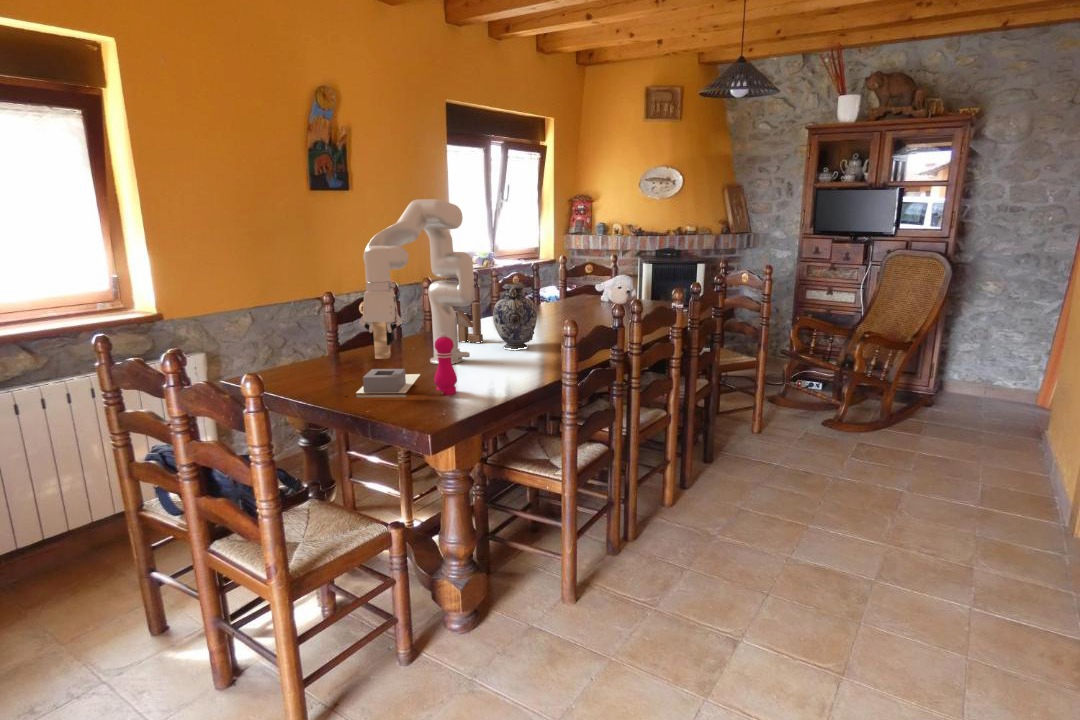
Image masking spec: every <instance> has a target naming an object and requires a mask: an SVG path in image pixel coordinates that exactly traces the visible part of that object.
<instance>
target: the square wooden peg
mask: <svg viewBox="0 0 1080 720" xmlns="http://www.w3.org/2000/svg"><path fill="white" fill-rule="evenodd" d="M387 331H388V330H387V326H386V322H373V333H374V345H373V346H374V359H378V360H381V359H382V360H385V359H386V360H388V359H389V358H390V357H391V355H392V352H391V344H390V345H387Z"/></svg>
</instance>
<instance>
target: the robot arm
mask: <svg viewBox="0 0 1080 720" xmlns="http://www.w3.org/2000/svg"><path fill="white" fill-rule="evenodd" d="M463 218H464V217H463V213H462V210H461V208H460V206H458V205H456V204H454V203H451V202H449V201H446V200H444V199H439V198H437V199H436V198H432V199H431V198H429V199H428V198H427V199H425V198H424V199H423V198H422V199H421V198H420V199H414V200H412V201H410V203H408V205H407V206H406V208H405V209H404V210H403V213H402V214H401V215H400V217H399V218H398V219H397V222H395V223H394V224H392V225H390V226H388V227H386V228H384V229H383V230H381V231H379V232H378V233H376V234H375V235H374V236H372V238H371V239H370V240H369V242H368V243H367V245H366V247H365V248H364V251H363V262H364V271H365V286H366V287H365V288H366V291H364V296H363V303H362V304H363V306H362V307H363V308H362V309H363V310H362V313H363V314H362V316H361V317H360V319H359V320H358V324H359V325H361V326H362V327H364V328H365V329H366V330H367V331H368V332H369V333H370V342H371V343H372V346H374V333H373V322H386V326H387V330H388V331H387V345H390V346H391V344H392V343H393V341H394V337H393V331H394V330H395V329H397V327H398V326H401V324H403V322H404V320H403V319H402V318H401V317H400V315H399V313H398V306H397V305H398V304H397V299H396V294H395V291H394V290H392V289H394V288H396V283H393V282H392V280H391V270H401V269H403V268H405V267H406V265H407V264H408V263H409V253H408V251H407V250H406V249H405V248H404V247H403V246H406V245H408V244H410V243H413V242H416V240H418V238H419V237H420V235H421V234H422V232H423V231H424V232H425V233H426V236H427V237H428V239H429V250H430V252H429V253H430V267H431V272H432V274H433V275H434V276H435V277H438V278H456V279H458V280H435V281H434V282H432V283H430V285H429V286H428V290H427V294H428V299H429V300H428V301H429V302H430V303H429V304H430V308H431V309H430V311H431V323H432V345H433V357H431V358H430V359H429V361H430V363H431V364H432V365H433V364H434V365H438V357H437V352H438V351H437V350H436V349H435V341H436V340H437V339H438V338H440V337H441V333H442V332H445V333H446V335H447V336H446V337H448V338H450V339H452V341H453V344H454V347H453V349H452V350H451V352H452V355H453V356H452V357H451V363H452V365H456V364H459V362H460V363H462V362H463V358H470V355H471V354H470V351H469V352H468V351H461V349H460V348H459V340H458V315H457V312H456V311H455V310H454V308H453V307H469V306H470V305H472V303H474V302H473V301H474V297H475V296H474V295H475V289H474V288H475V287H474V286H475V285H474V281H475V279H474V264H473V260H472V257H471V256H470V254H469V253H467V252H465V251H464V252H463V251H454V245H453V244H454V243H453V238H452V237H453V236H452V235H451V234H450V232H449V230H456V229H459V228H460V227H461V225H462V223H463ZM395 321H396V322H395ZM394 322H395V323H394ZM461 361H462V362H461ZM455 363H456V364H455Z"/></svg>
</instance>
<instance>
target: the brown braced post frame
mask: <svg viewBox="0 0 1080 720" xmlns="http://www.w3.org/2000/svg"><path fill="white" fill-rule="evenodd" d="M471 306H472V309H471V310H472V321H471V319H470V318H469V317H468V316H467V315H466V314H465V313H464V312H463V310H461V309H460V310H457V312H456V316H457V334H458V342H459V341H467V340H468V341H470V342H481V341H483V342H484V337H483V336H484V335H483V334H482V320H481V319H482V318H481V316H482V315H481V314H482V313H481V302H472V303H471ZM469 328H472V333H469Z"/></svg>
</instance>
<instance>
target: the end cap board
mask: <svg viewBox="0 0 1080 720" xmlns="http://www.w3.org/2000/svg"><path fill="white" fill-rule="evenodd" d="M420 376H421V373H413V374H412V373H409V374H407V373H406V369H405V368H372V369H370V370H369V371H368V372H367V373H365V375H364V376H363V377H362V384H363V385H362V386H361V387H360V388H359V389H358V390H357V391H356V392H355V398H356V399H358V398H361V399H362V398H363V399H364V398H368V399H369V398H372V399H373V398H374V399H375V398H407V397H408V395H409V394H406V393H407V392H408V391H409V390H410V388H411V387H413V384H414V383H415V382H416V381H417V380H418V378H419V377H420Z"/></svg>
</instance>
